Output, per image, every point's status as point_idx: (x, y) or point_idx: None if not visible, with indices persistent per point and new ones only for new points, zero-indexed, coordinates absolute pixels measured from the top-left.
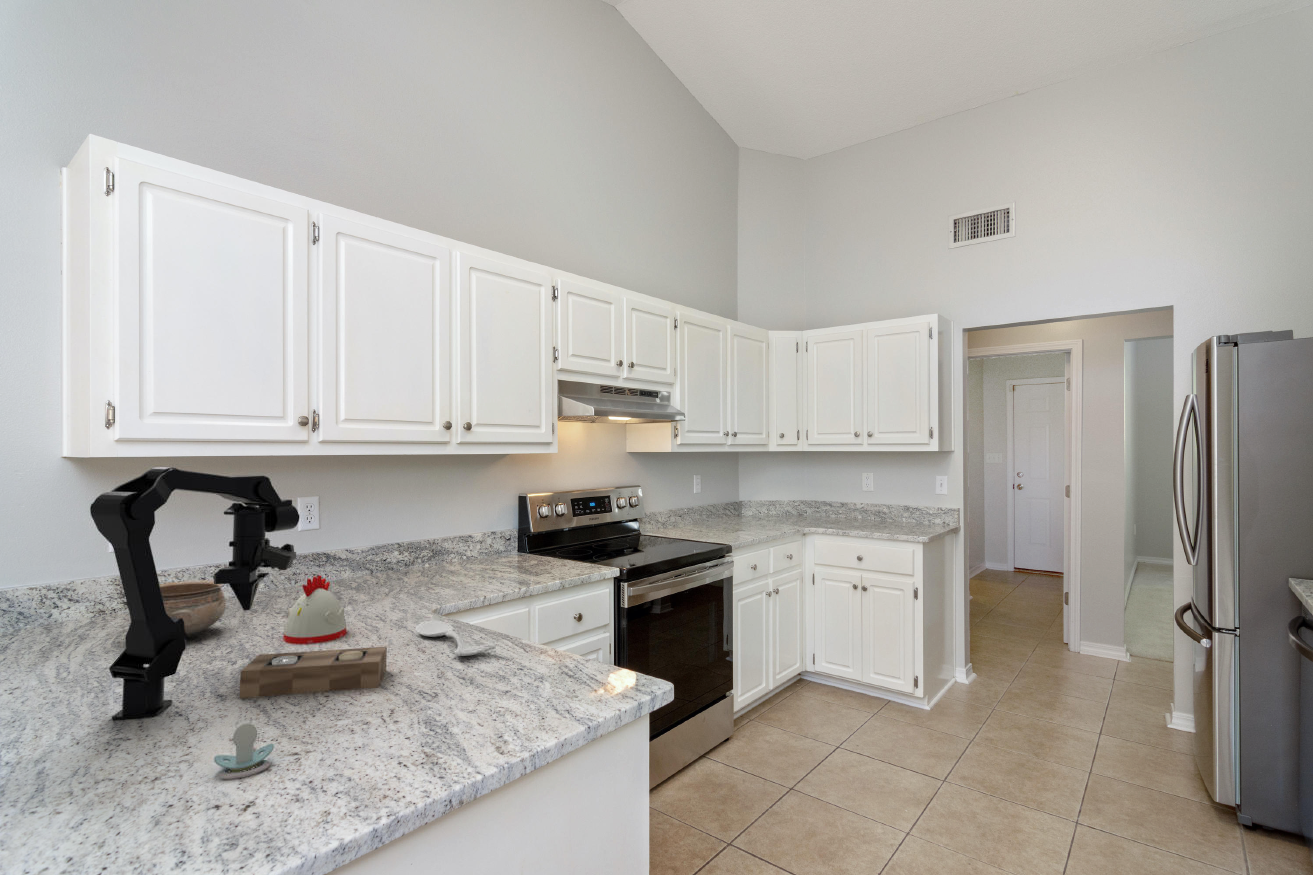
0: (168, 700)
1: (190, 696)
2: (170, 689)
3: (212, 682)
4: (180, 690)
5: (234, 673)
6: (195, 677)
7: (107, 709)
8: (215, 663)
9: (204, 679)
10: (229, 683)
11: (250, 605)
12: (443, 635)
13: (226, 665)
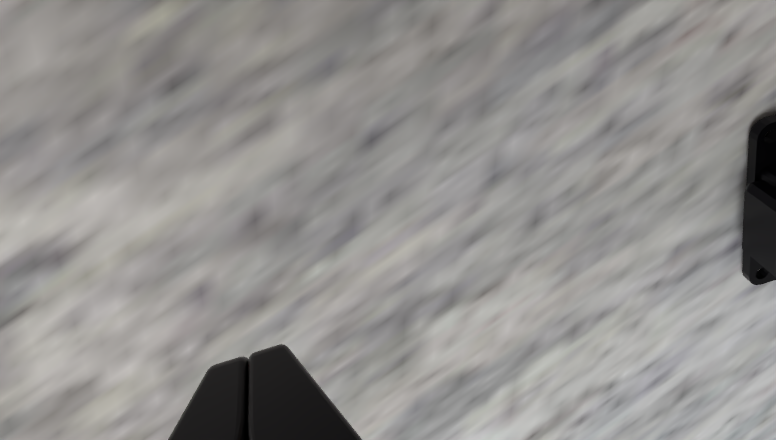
0: (764, 142)
1: (662, 98)
2: (532, 278)
3: (432, 137)
4: (554, 219)
5: (251, 114)
6: (341, 294)
7: (750, 339)
8: (68, 368)
9: (376, 222)
10: (458, 10)
11: (288, 385)
12: None
13: (93, 279)
